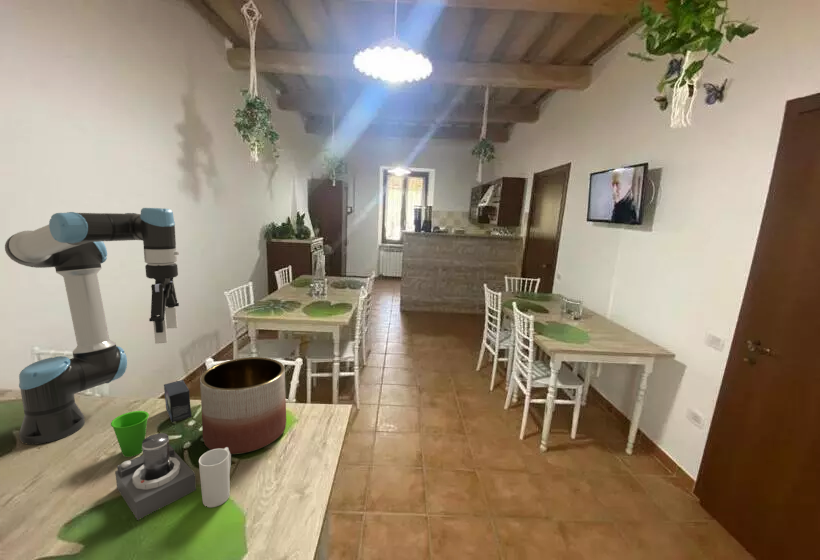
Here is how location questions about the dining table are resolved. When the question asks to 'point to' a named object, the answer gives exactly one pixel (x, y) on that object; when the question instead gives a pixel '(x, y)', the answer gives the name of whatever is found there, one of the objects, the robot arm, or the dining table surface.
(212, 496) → the mug
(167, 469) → the lens
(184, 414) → the small box
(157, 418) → the dining table surface
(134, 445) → the cup
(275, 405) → the planter
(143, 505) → the camera body
